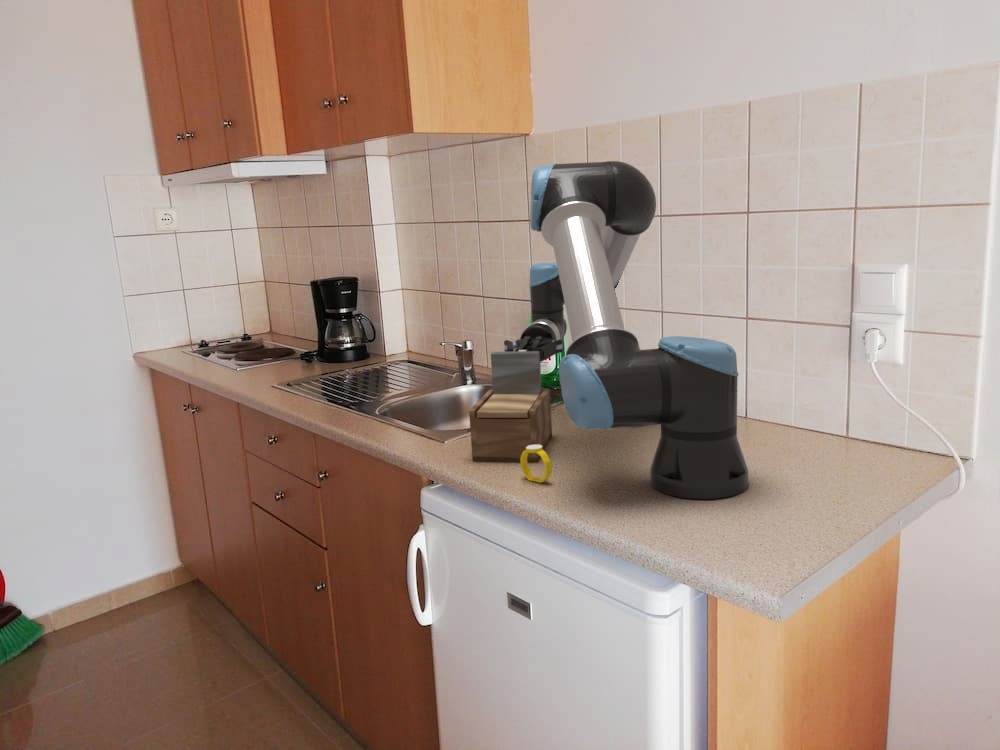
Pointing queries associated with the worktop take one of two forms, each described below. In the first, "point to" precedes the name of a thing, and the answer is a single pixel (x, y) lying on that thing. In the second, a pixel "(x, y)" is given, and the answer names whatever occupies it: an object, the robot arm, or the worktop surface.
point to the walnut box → (510, 432)
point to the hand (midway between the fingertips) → (516, 363)
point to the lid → (513, 384)
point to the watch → (544, 457)
